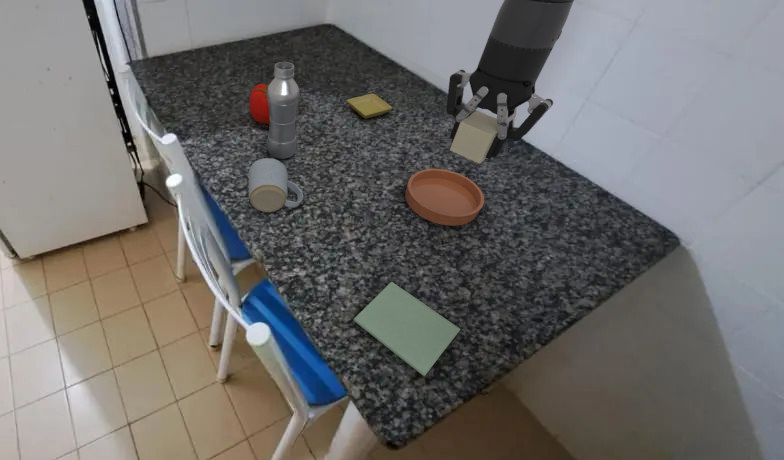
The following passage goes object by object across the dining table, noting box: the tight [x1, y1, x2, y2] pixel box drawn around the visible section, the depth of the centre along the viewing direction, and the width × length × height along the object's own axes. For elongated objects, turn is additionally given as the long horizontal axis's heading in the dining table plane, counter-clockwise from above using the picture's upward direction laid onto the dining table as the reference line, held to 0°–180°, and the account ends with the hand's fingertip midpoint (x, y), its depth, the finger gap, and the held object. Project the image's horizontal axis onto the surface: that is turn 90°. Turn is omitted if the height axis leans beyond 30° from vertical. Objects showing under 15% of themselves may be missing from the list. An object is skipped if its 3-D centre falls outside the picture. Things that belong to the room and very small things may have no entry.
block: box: [449, 110, 498, 165], centre depth 60 cm, size 5×5×5 cm
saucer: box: [346, 93, 393, 120], centre depth 101 cm, size 9×9×2 cm
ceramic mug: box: [248, 157, 304, 213], centre depth 74 cm, size 11×8×8 cm
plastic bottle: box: [266, 61, 301, 160], centre depth 81 cm, size 6×7×20 cm
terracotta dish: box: [404, 168, 485, 227], centre depth 77 cm, size 14×14×2 cm
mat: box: [353, 281, 461, 377], centre depth 58 cm, size 12×10×1 cm
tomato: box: [248, 83, 270, 126], centre depth 95 cm, size 11×11×9 cm
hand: (472, 148), depth 61 cm, fingers closed on block, 5 cm apart
